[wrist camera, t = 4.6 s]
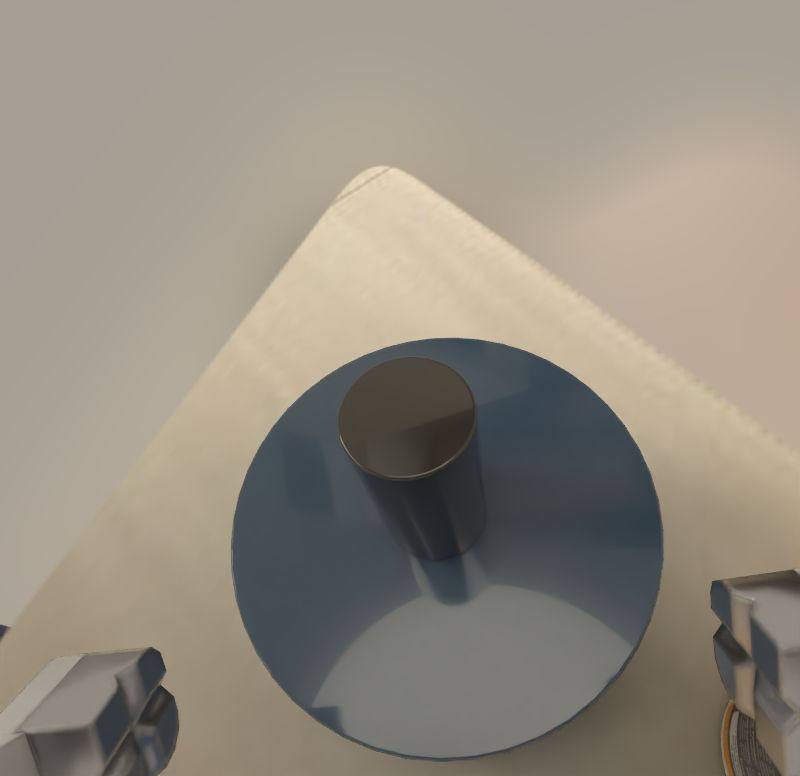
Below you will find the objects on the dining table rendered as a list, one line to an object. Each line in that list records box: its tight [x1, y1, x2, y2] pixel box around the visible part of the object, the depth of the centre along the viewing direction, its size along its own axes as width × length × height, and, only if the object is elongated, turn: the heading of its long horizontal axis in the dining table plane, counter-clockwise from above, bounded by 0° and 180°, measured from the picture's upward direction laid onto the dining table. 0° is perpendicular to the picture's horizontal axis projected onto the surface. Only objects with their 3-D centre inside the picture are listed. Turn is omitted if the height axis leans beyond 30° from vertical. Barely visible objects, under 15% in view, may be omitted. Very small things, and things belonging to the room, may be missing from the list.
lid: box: [231, 338, 664, 762], centre depth 13 cm, size 11×11×6 cm
